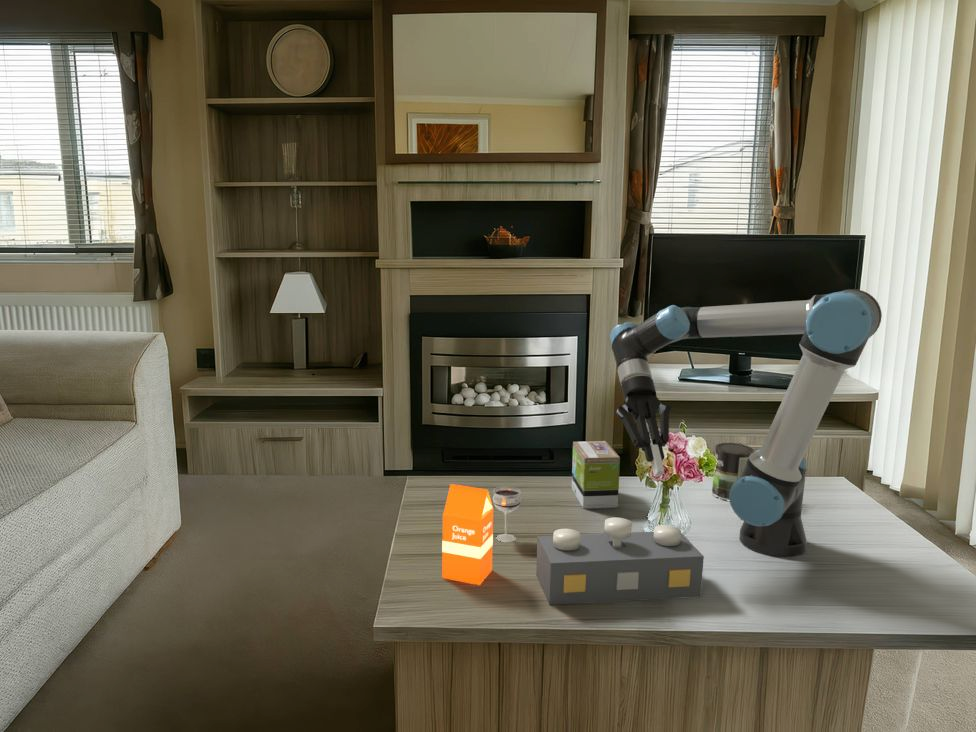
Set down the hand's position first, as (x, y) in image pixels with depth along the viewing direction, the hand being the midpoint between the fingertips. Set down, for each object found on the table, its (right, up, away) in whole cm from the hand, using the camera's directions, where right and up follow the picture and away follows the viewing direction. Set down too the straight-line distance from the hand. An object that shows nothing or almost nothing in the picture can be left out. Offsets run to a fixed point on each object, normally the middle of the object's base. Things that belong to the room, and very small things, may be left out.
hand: (659, 473), depth 165 cm
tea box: (-8, -14, +45) cm, 48 cm away
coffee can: (+32, -13, +50) cm, 61 cm away
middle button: (-10, -17, -5) cm, 20 cm away
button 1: (-21, -19, -6) cm, 29 cm away
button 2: (+1, -19, -3) cm, 19 cm away
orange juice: (-42, -22, -1) cm, 47 cm away
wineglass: (-33, -18, +18) cm, 42 cm away
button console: (-10, -23, -5) cm, 26 cm away
